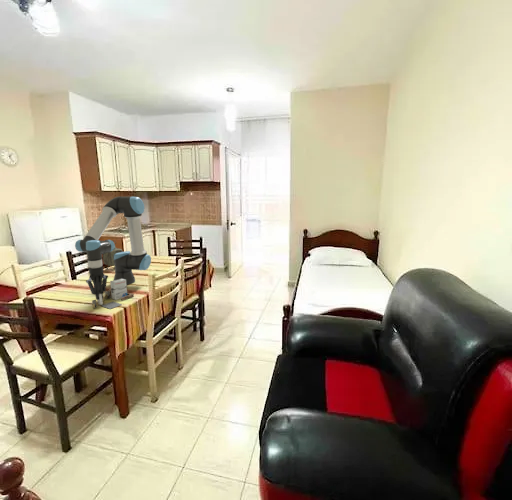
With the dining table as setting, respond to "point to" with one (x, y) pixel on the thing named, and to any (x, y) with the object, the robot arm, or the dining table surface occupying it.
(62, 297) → the dining table surface
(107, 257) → the tabletop clock
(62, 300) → the dining table surface
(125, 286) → the ink box
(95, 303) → the brass lever
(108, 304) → the charcoal mat
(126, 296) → the walnut cradle
